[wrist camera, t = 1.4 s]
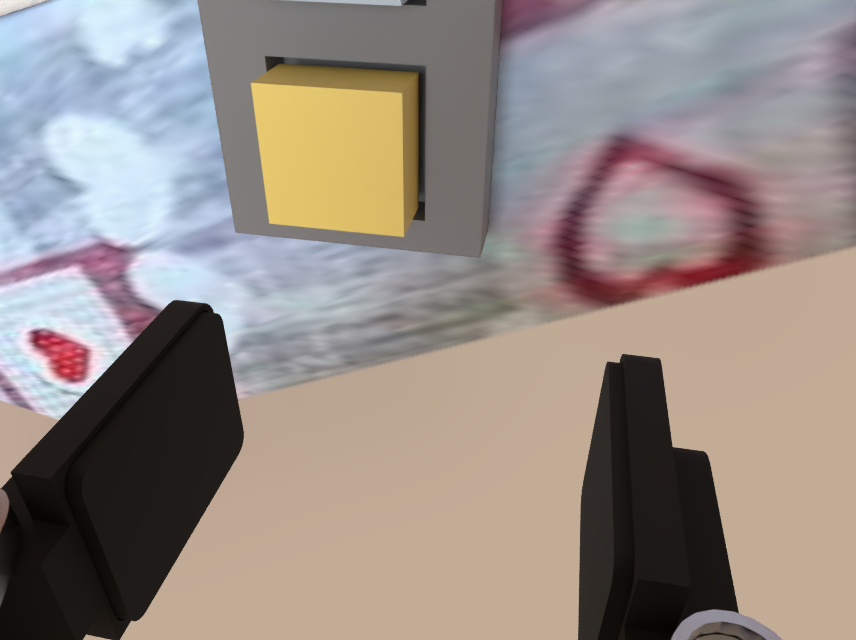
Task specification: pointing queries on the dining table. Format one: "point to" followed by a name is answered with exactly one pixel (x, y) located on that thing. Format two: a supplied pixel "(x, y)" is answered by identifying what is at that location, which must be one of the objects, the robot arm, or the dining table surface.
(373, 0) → the blue button
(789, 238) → the dining table surface
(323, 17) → the button board
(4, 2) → the dish towel
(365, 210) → the mustard button
